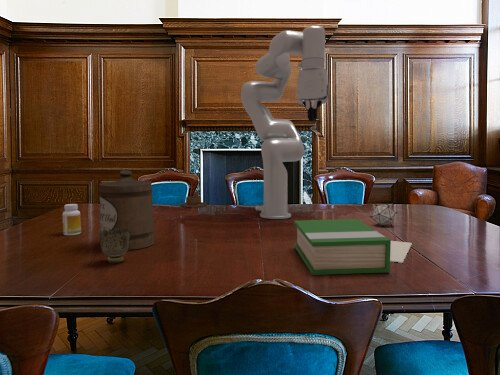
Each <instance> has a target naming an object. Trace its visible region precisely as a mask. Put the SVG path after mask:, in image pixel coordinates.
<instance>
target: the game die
mask: <svg viewBox="0 0 500 375" xmlns="http://www.w3.org/2000/svg"><path fill="white" fill-rule="evenodd" d="M374 205H375V208H374V211H373V213H372V215H370V216H369V218H373V220H375V221H376V223H377V224H378V225H379V227H382V226H383V225H384V226H385V225H386V226H387V225H390V226H391V227H392V226H393V224H392V222H393V221H394V219H395V216H396V214H397V215H398V213H399V212H397V211H394V209H392V208H391V207H390V205H389V204H388V202H387V203H386V204H379V205H378V204H377V203H374Z"/></svg>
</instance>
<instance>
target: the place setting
mask: <svg viewBox="0 0 500 375" xmlns="http://www.w3.org/2000/svg"><path fill="white" fill-rule="evenodd" d="M199 194H200V192H199V191H198V190H195V191H193V196H186V197H185V202H182V203H180V206H181V207H182V206H186V207H199V208H204V207H206V208H210V207H212V204H209V205H207V203H206V202H203V201H202V199H201V196H199ZM203 206H204V207H203Z"/></svg>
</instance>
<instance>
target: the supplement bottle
mask: <svg viewBox="0 0 500 375" xmlns="http://www.w3.org/2000/svg"><path fill="white" fill-rule="evenodd" d="M63 208H64V211H63V212H62V229H63V230H62V233H63V235H64V236H76V235H80V234H81V233H82V222H81V220H82V219H81V218H82V216H81V212H80V210H78V209H79V206H78V203H68V204H67V203H66V204H64V207H63Z"/></svg>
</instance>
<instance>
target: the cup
mask: <svg viewBox="0 0 500 375" xmlns="http://www.w3.org/2000/svg"><path fill="white" fill-rule="evenodd" d="M98 238H99V239H98V240H99V243H100V249H101V252H102V254H103V255H104V256H106V257H107V262H109V264H117V263H118V264H119V263H122V262H123V260H124V255H126V253H128V251H129V250H128V247H129V238H130V230H129V229H128V228H127V229H126V230H125V229H124V228H123V229H122V231H121V229H120V228H118V229H116V228H114V229H113V231H111V229H110V228H109V230H108V231H107V230H105V229H103V230H102V231H101V230H99V231H98Z"/></svg>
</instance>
